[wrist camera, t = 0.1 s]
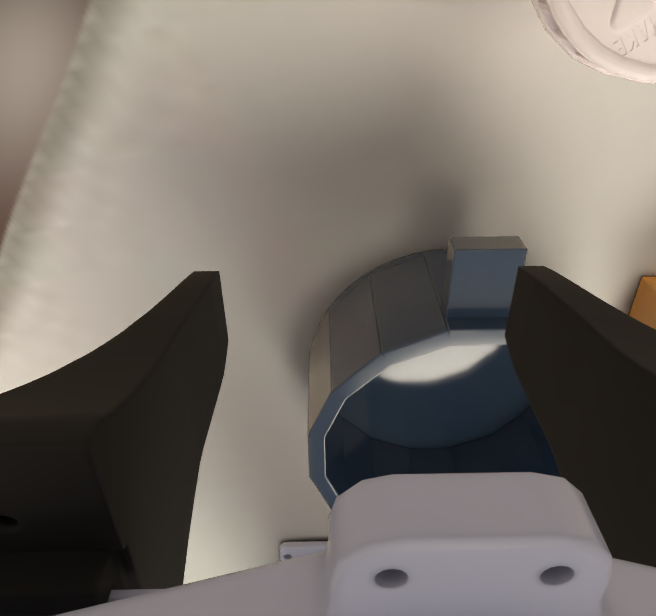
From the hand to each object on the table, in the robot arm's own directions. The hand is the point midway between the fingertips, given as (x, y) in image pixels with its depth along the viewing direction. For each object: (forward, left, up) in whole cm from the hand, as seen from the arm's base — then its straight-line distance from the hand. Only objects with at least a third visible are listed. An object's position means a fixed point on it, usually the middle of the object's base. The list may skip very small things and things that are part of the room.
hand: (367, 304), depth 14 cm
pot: (-10, -4, -10) cm, 15 cm away
